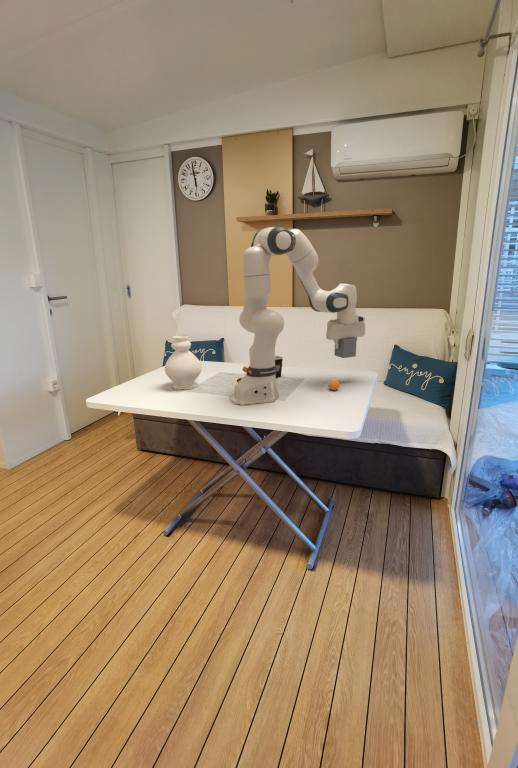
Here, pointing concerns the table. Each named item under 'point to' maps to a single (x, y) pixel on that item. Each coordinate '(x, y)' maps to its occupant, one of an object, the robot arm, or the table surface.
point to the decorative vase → (182, 364)
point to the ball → (333, 384)
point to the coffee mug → (278, 365)
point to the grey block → (346, 348)
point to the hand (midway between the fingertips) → (345, 347)
